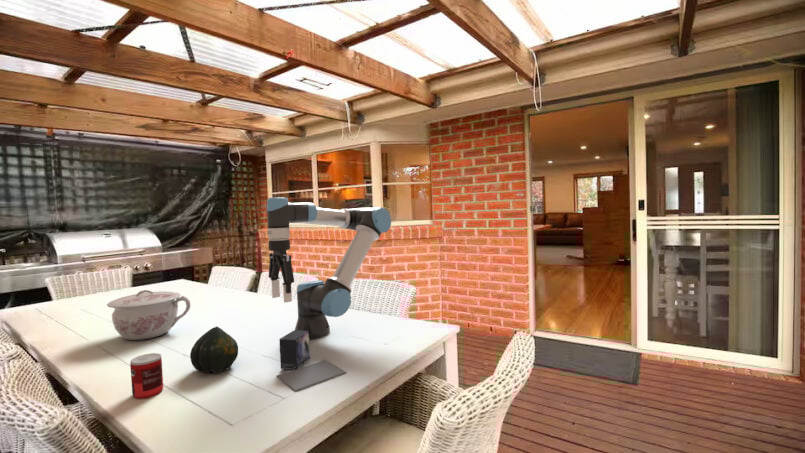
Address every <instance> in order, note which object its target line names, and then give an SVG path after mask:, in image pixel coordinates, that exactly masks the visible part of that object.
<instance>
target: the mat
mask: <svg viewBox="0 0 805 453" xmlns="http://www.w3.org/2000/svg"><path fill="white" fill-rule="evenodd" d="M345 374H347V370H344V369H342V368H341V367H339V366H338V365H336V364H334V363H332V362H330V361H329V360H327V359H323V360H318V361H316V362H314V363H310V364H308V365H304V366H300V367H299V368H298V369H290V370H289V371H285V372H283V373H280V374H278V375H276V378H277V379H279V380H280V381H281V382H283V383H284V384H285V385H286V386H287V387H289V388H290V389H291V390H292V391H294V392H299V391H301V390H305V389H307V388H310V387H313V386H316V385H318V384H322V383H323V382H326V381H329V380H331V379H334V378H336V377H339V376H343V375H345Z"/></svg>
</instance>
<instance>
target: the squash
mask: <svg viewBox="0 0 805 453" xmlns="http://www.w3.org/2000/svg"><path fill="white" fill-rule="evenodd" d="M238 355H239V345H238V343H237V341H236V339H234V338H233V336H231V335H230V334H229V333H228V332H226V331H224V330H223V329H222V328H220V327H218V326H217V325H216V326H214V327H212V328H211V329H209V330H208V331H206V332H205V333H204V334H202V335H201V336H200V337H199V338H198V339H197V340H196V341H195V343H194V344H193V346H192V347H191V350H190V354H189V357H190V358H189V359H190V363H191V365H192V367H193V368H194V369H195V370H196V371H198V372H199V373H205V372H211V371H212V373H214V374H219V373H221V372H222V371H227V370H228V369H230V368H231V367H232V365H233V364H234V363H235V361H236V360H237V358H238Z"/></svg>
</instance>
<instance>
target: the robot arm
mask: <svg viewBox="0 0 805 453" xmlns="http://www.w3.org/2000/svg"><path fill="white" fill-rule="evenodd" d="M266 216H267V219H266V220H267V221H266V222H267V231H266V234H267V239H269V240H268V250H269V251H270V253H269V255H268V256H269V267H268V279H270V280H271V297H272V299H276V298H280V297H281V292H280V290H281V287H280V276H279V275H280V272H281V275H282V280H283V282H282V289H283V290H282V292H283V303H284V304H285V303H286V304H287V303H290V302H292V301H293V296H292V292H293V291H292V284H293V283H295V278H294V272H293V265H292V264H293V263H292V255H291V254H287V251H288V250H291V240H290V237H291V236H290V235H291V234H290V223H294V224H303V225H304V224H307V225H319V226H320V225H323V226H330V227H331V226H333V227H339V228H340V229H344V230H350V231H355V232H356V234H355V235H354V237H353V239H352V240H351V242H350V245H349V246H348V248H347V250H346V252H345V253H344V254H343V257H342V258H341V260H340V262H339V264H338V266H337V268H336V269H335V271H334V273H333V275H332V276H330V277H328V278H326V280H325V281H324V280H312V281H305V282H300V283H299V284H298V285H297V286H296V298H297V299H296V300H297V321H296V323H295V328H294V330H298V331H309V340H313V339H314V340H315V339H320V338H323V337H326V336H327V335H329V334H330V333H331V330H330V328H331V327H330V324H329V321H328V319H327V317H330V318H331V317H333V318H339V317H341V316H343V315H345V314H346V313H347V312H348V310H350V308H351V304H352V296H351V293H352V288H351V286H352V283H353V281H354V279H355V278H356V275H357V274H358V272H359V270H360V268H361V266H362V264H363V262H364V260H365V258H366V256H367V255H368V253H369V251H370V249H371V247H372V245H373V243H374V242H376V241H378V240H379V238H380V237H381V236H382V234H383V233H385V234H386V233H387V232H389V230H390V229H391V226H392V219H391V217H392V216H391V214H390V213H389V211H388V209H386V208H385V207H380V206H373V207H356V208H340V209H335V208H334V209H333V208H323V207H317V206H316V205H315V203H313V202H289V199H288V197H283V196H282V197H281V196H280V197H278V196H277V197H269V198H267V200H266Z"/></svg>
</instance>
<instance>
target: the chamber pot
mask: <svg viewBox="0 0 805 453" xmlns="http://www.w3.org/2000/svg"><path fill="white" fill-rule="evenodd" d="M181 301H182V302H185V306H186V307H185V310H184V311H183V312H182V314H179V315H178V313H179V303H180V302H181ZM106 306H107V307H108V308H112V309H114V310H113V311H112V314H111V322H112V324H113V327H114V330H115V331H116V332H117V333H118V334H119V335H120V336H121V338H123V339H124V340H128V341H143V340H149V339H154V338H157V337H160V336H162V335H165V334H166V333H168V332H169V331H171V329H172V328H173V327H174V326H175V325H176V323H177V322H178V321H179V320H180V319H181V318H183V317H185V316H186V315H187V313H188V312H189V311H190V309H191V307H192V306H191V301H190V299H189V298H188V297H186V296H185V295H182V294H180V293H178V292H173V291H151V290H150V289H144V290H140V291H139V292H137V293H136V294H131V295H130V294H129V295H126V296H123V297H119V298H116V299H113V300H111V301H109V302H108V303H106Z"/></svg>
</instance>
